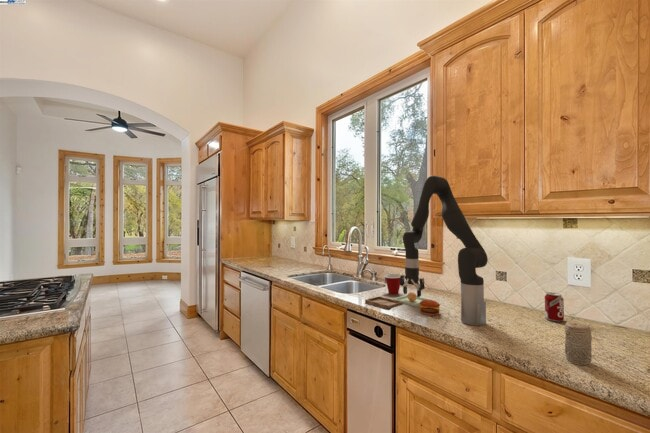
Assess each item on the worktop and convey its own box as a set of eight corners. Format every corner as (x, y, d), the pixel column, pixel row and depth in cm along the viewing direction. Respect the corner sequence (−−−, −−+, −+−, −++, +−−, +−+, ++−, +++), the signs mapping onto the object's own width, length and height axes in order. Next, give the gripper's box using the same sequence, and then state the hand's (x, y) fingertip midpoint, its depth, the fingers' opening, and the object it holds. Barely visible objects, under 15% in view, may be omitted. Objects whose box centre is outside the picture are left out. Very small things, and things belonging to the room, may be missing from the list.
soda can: (544, 320, 132) (543, 293, 132) (545, 316, 137) (545, 291, 137) (563, 323, 127) (562, 296, 128) (564, 320, 132) (563, 293, 133)
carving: (561, 361, 93) (560, 323, 93) (570, 355, 97) (569, 319, 97) (586, 369, 88) (585, 329, 88) (595, 363, 92) (594, 324, 92)
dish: (431, 302, 161) (431, 299, 161) (416, 307, 152) (416, 304, 152) (408, 297, 173) (408, 294, 173) (392, 301, 163) (392, 298, 163)
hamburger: (419, 310, 148) (419, 297, 148) (440, 312, 145) (439, 298, 145) (418, 315, 139) (418, 301, 140) (440, 318, 136) (440, 303, 136)
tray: (402, 305, 156) (402, 301, 156) (388, 309, 149) (388, 306, 149) (379, 299, 169) (379, 296, 169) (365, 303, 161) (365, 299, 161)
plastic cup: (380, 293, 183) (380, 274, 183) (394, 291, 188) (394, 273, 188) (391, 297, 173) (391, 277, 174) (405, 295, 178) (405, 275, 178)
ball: (418, 301, 162) (418, 292, 162) (413, 303, 159) (413, 293, 159) (410, 299, 166) (410, 290, 166) (405, 301, 163) (405, 292, 163)
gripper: (427, 267, 160) (427, 296, 160) (405, 264, 171) (405, 291, 171) (419, 268, 155) (419, 299, 155) (397, 265, 166) (397, 293, 166)
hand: (411, 295), depth 163 cm, fingers open, 8 cm apart
